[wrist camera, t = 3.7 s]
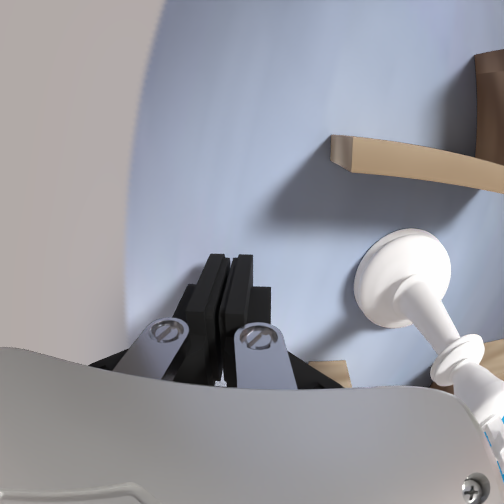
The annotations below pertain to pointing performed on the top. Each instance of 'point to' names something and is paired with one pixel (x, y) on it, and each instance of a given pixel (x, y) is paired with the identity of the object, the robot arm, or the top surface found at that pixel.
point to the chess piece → (430, 320)
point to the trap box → (438, 176)
